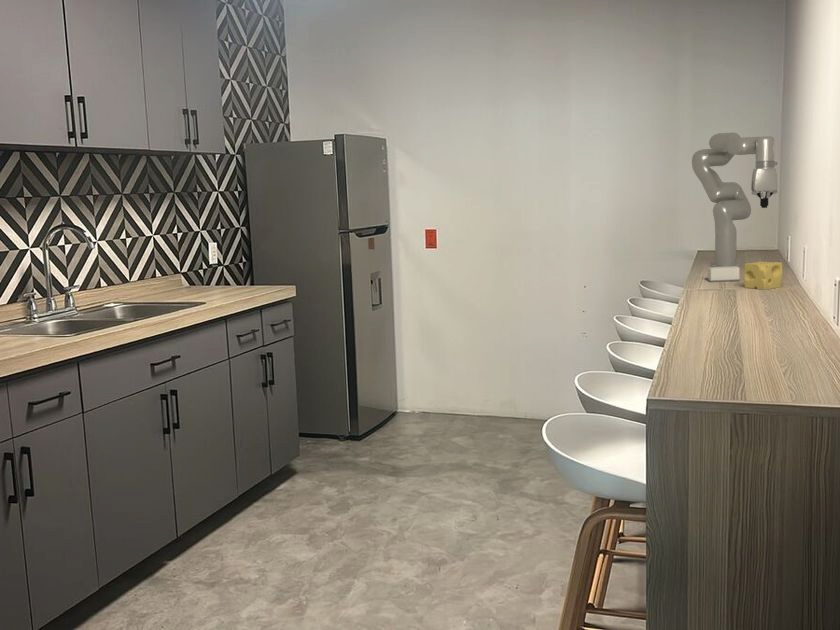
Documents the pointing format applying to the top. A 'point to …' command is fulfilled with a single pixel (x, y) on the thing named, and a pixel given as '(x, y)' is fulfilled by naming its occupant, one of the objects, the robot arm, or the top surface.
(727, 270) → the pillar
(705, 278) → the mat
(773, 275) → the cheese
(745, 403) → the top surface
